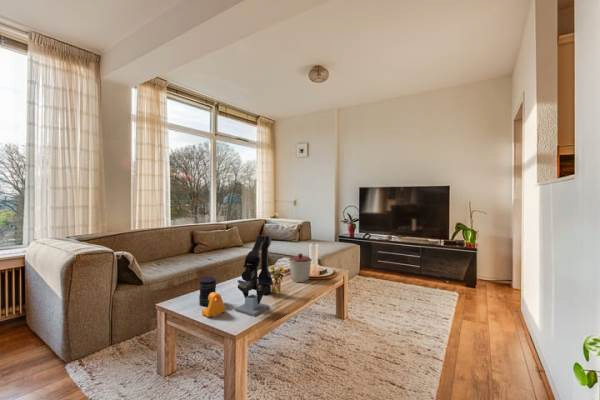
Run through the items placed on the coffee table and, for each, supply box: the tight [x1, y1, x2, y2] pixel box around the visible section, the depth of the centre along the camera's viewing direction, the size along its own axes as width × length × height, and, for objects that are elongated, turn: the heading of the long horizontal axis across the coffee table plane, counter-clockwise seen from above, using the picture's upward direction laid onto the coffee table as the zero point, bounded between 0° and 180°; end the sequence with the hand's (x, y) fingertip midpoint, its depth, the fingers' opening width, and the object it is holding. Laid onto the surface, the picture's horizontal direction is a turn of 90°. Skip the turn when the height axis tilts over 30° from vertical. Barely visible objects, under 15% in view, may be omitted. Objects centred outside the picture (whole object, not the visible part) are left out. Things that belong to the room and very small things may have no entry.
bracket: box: [201, 291, 226, 318], centre depth 160 cm, size 11×7×12 cm, turn 139°
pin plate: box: [234, 302, 270, 317], centre depth 166 cm, size 14×14×6 cm
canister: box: [288, 253, 313, 283], centre depth 221 cm, size 18×18×21 cm
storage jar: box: [198, 276, 217, 308], centre depth 174 cm, size 10×10×15 cm
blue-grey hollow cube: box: [244, 293, 261, 310], centre depth 166 cm, size 6×6×6 cm
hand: (252, 302), depth 166 cm, fingers open, 9 cm apart
